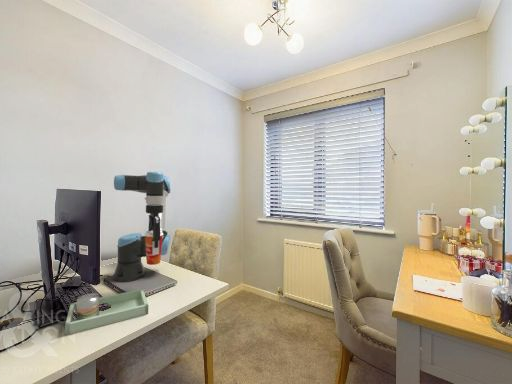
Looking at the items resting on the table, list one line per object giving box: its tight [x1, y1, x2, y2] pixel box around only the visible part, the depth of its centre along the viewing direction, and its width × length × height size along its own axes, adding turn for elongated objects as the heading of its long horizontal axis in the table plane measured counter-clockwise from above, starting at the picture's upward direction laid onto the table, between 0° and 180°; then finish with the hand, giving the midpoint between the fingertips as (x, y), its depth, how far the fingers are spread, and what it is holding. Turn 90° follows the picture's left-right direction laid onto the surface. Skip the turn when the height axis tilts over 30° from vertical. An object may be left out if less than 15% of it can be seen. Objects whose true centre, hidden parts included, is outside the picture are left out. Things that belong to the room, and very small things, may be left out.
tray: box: [64, 288, 149, 336], centre depth 93 cm, size 16×26×4 cm, turn 123°
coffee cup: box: [144, 230, 163, 266], centre depth 110 cm, size 8×8×15 cm
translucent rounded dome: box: [76, 292, 100, 321], centre depth 89 cm, size 7×7×8 cm
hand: (153, 251), depth 111 cm, fingers closed on coffee cup, 8 cm apart
